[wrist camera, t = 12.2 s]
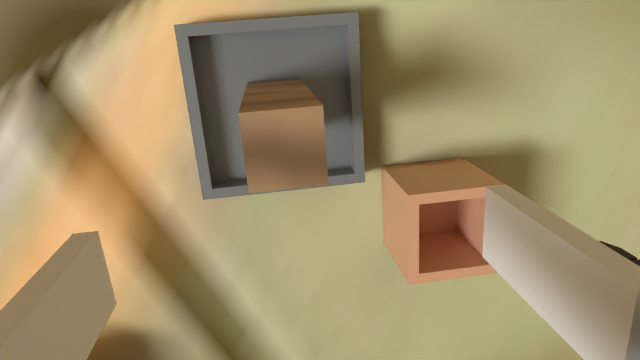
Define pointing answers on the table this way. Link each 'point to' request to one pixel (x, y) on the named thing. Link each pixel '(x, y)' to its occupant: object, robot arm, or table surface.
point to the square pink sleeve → (436, 218)
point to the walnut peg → (282, 136)
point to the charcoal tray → (266, 65)
